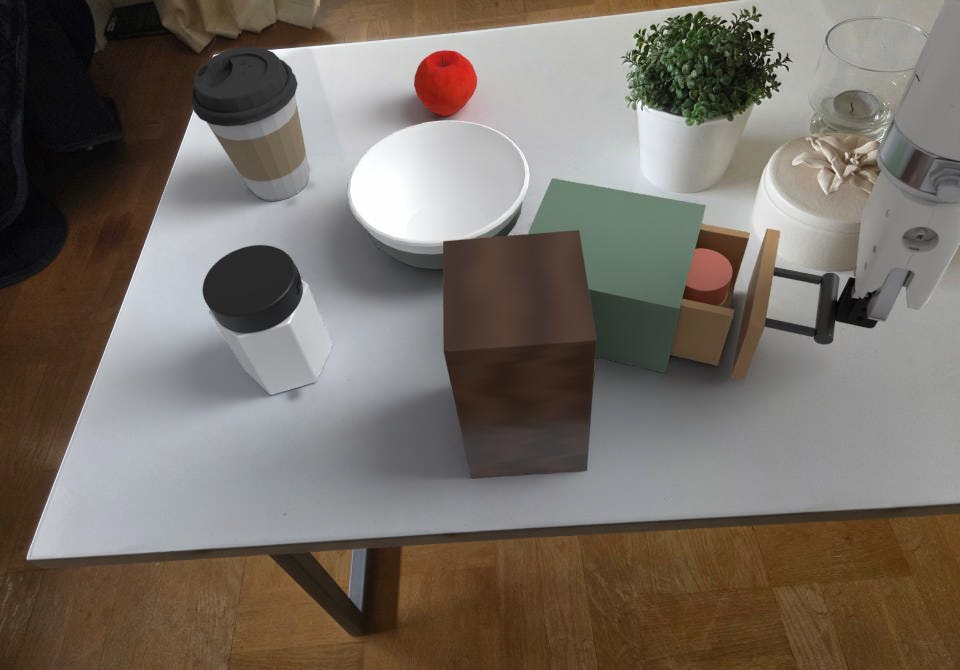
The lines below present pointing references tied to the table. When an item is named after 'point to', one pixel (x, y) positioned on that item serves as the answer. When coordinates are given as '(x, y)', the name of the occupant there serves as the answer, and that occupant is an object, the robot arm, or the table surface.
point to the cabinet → (628, 263)
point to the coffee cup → (254, 118)
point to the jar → (268, 317)
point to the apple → (445, 82)
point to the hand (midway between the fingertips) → (853, 317)
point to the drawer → (747, 304)
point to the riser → (520, 351)
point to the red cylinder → (708, 278)
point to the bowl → (437, 188)
